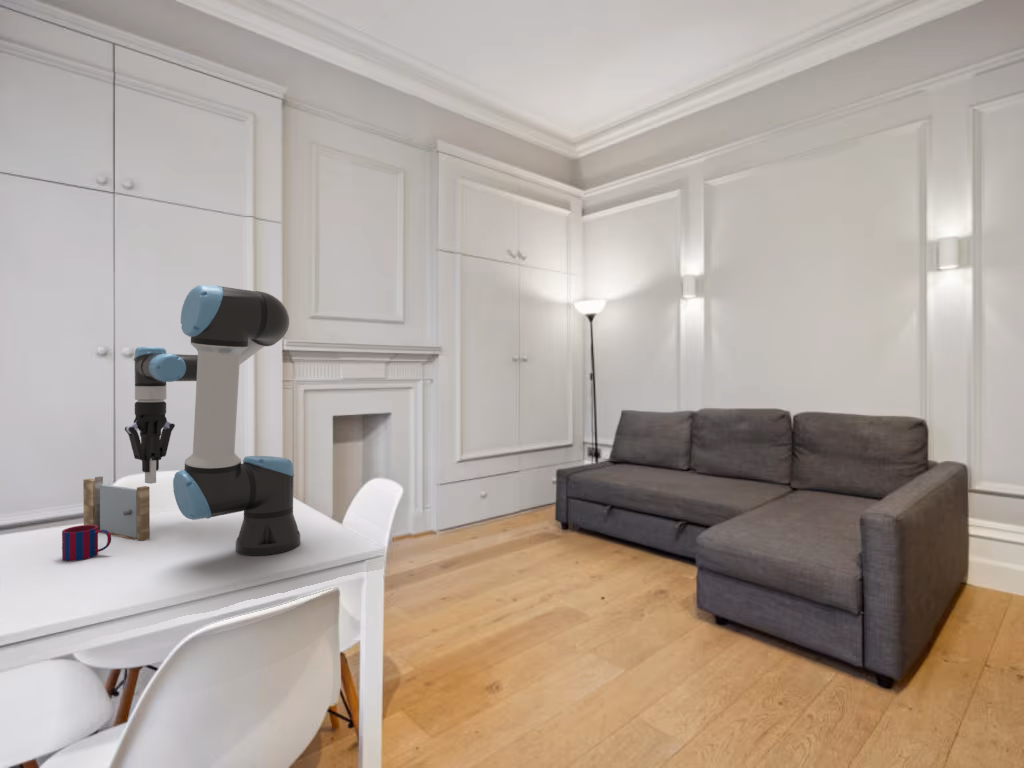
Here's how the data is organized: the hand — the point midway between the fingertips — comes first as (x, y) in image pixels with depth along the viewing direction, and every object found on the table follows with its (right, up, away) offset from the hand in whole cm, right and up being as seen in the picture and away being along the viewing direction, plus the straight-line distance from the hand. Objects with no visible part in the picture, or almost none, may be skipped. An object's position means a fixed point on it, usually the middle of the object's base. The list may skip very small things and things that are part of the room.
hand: (150, 482), depth 153 cm
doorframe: (-5, -13, -6) cm, 15 cm away
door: (-4, -13, -8) cm, 15 cm away
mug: (+1, -14, -25) cm, 28 cm away
